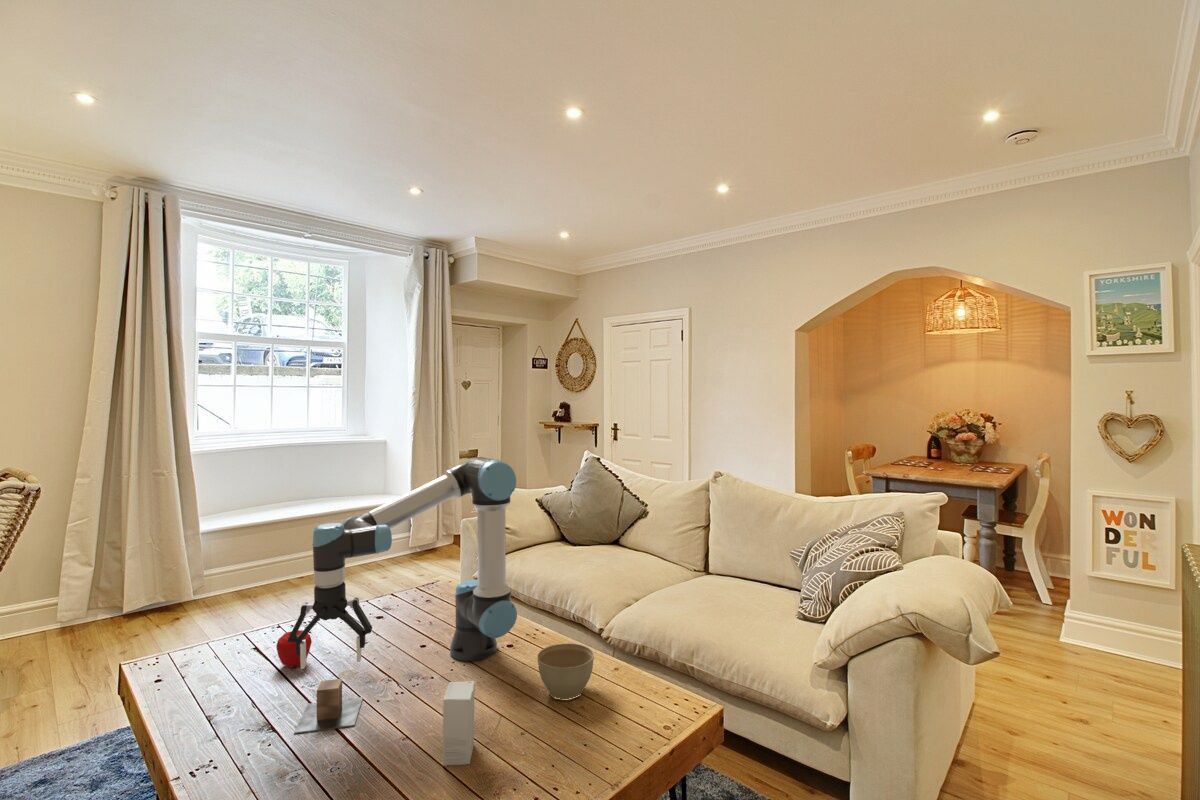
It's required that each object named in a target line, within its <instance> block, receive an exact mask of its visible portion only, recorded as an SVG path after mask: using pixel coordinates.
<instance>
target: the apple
mask: <svg viewBox="0 0 1200 800" xmlns="http://www.w3.org/2000/svg"><path fill="white" fill-rule="evenodd" d="M303 630H304V629H303ZM303 630H301V629H299V630H298V632H297V634H296V636H299V635H300V634H301V633H302V632H303ZM291 632H292V630H291V631H287V632H285V633H283V634H282V636H280V637H279V638H278V639H277V643H276V646H275V647H276V653H277V656H278V658H279V661H280V662H281V664H282V665H283V666H285V667H287V668H297V667H301V661H300V655H298V656H297V655H296V644H295V643H294V642H288V638H289V636H290V634H291ZM303 640H306V660H307V659H308V656H309V653H310V650H311V646H312V636H311V634H309V633H308V634H307V635H306V636H305V637H304V639H303Z"/></svg>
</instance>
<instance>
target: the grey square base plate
mask: <svg viewBox="0 0 1200 800" xmlns="http://www.w3.org/2000/svg"><path fill="white" fill-rule="evenodd" d="M362 702H363V696H361V697H360V696H359V697H353V698H351V697H350V698H344V699H343V698H342V709H341V712H340V715H339V718H334V719H326V720H318V721H317V702H311V703H307V705H306V707H305V708H304V712H302V715H301V718H300V719H299V722H298V723H297V726H296V728H295V730H294V732H293V734H294V735H297V734H298V735H299V734H304V733H313V732H321V731H328V730H336V729H345V728H350V727H351V728H353V727H356V726H355V725H356V722H357V718H358V715H359V712H360V709H361V706H362Z"/></svg>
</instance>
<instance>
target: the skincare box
mask: <svg viewBox="0 0 1200 800" xmlns="http://www.w3.org/2000/svg"><path fill="white" fill-rule="evenodd" d="M475 683H476V682H475V681H474V680H471V681H466V680H465V681H450V682H448V684H447V688H446V690H445V693H444V696H443V703H442V704H443V705H442V767H446V765H450V766H466V764H469V765H470V764H471V759H472V756H473V751H474V750H473V749H474V745H475V739H474V738H475V735H474V734H475V685H476V684H475Z"/></svg>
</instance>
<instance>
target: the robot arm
mask: <svg viewBox="0 0 1200 800" xmlns="http://www.w3.org/2000/svg"><path fill="white" fill-rule="evenodd" d="M516 486H517V476H516V473H515V471H514V468H512V466H511V465H509V463H506V462H504V461H502V460H500V459H493V458H487V457H484V456H483V457H482V456H480V457H474V458H470V459H468V460H465V461H463V462H461V463H459V464H456V465H455V466H454V467H451V468H449V469H447V470H445V471H444V473H443V475H442V476H439V477H438V478H436V479H433V480H431V481H429V482H427V483H425V484H423V485H422V486H420V487H418V488H415V489H414V490H410V491H409V492H407V493H405V494H403V495H401V496H398V497H396V498H395V499H392V500H391V501H389V502H386V503H384V504H382V505H380V506H378V507H376V508H374V509H372V510H370V511H368V512H365V513H363V514H361V515H359V516H350V517H348V518H346V519H345V520H343V522H342V523H340V522H339V523H338V522H333V523H332V522H331V523H324V524H320V525H317V526H315V528H314V529H313V536H312V537H313V538H312V544H311V545H312V557H313V584H314V587H313V597H314V598H313V603H308V602H304V603H303V604H302V606H301V607H300V614H299V616H298V618H297V620H296V622H295V624H294V625H293V628H292V630H291V631H292V632H291V631H290V632H291V634H290V636H289V638H288V642H294V643H295V644H296V655H297V656H298V655H300V661H301V665H300V670H303V669H305V667H307V666H306V665H307V659H306V640H303V639H304V637H305V636H306V635H307V634H309V633H310V631H312V629H313V628H314V627H315V625H316V624H317V623H318V622H319V620H320V619H321V620H323V621H327V620H337V619H338V618H339V619H340V620H341V621H343V622H344V623H346V624H347V626H348V627H350V629H352V631H354V632H355V633H356V634H357V636H356V639H355V641H356V663H361V661H362V655H363V654H362V649H364V648H365V646H366V636H367V635H368V634H369V635H370V634H371V633H372V630H373V626H372V624H371V622H370V620H369V619H368V617H367V616H366V613H365V612H364V610H363V609H362V607H361V605H360V599H359V597H355V598H354V599H350V600H349V599H347V594H346V581H345V580H346V559H351V558H356V557H362V556H368V555H375V554H380V553H384V552H387V551H389V550H390V549H391V547H392V544H393V537H392V531H391V529H394V528H396V527H397V526H400V525H402V524H403V523H405V522H407V521H409V520H411V519H413V518H415V517H418V515H421V514H423V513H425V512H427V511H429V510H431V509H432V508H434V507H437V506H439V505H441V504H442V503H445V502H446V501H448V500H450V499H453V498H457V499H459V498H461V497H463V496H466V495H469V494H471V496H472V497H471V498H472V499H471V500H472V501H471V502H472V506H473V507H475V508H476V510H477V515H476V516H477V518H476V519H477V579H471V580H466V581H462V582H460V583H458V584H457V585H456V586H455V593H454V597H455V601H454V603H455V605H454V606H455V629H454V633H453V636H452V640H451V643H450V646H449V654H450V656H451V657H452V658H453V659H454V660H457V661H461V662H462V661H463V662H475V661H481V660H485V659H487V658H490V657H492V656H493V655H495V654H496V653H497V650H498V641H497V639H498V638H500V637H505V636H506V635H507V634H508V633H510V632H511V629H512V628H513V627H514V626H515V624H516V622H517V619H518V618H517V617H518V610H517V607H516V606H515V604H514V603H513V602H512V597H511V596H512V593H511V592H512V591H511V590H512V589H511V587H510V585H508V584H507V581H506V580H507V578H506V577H507V573H506V570H507V568H506V567H507V566H506V565H507V564H506V562H507V561H506V560H507V559H506V558H507V557H506V556H507V555H506V546H507V545H506V508H507V507H508V506H509V505H510V503H511V495H513V493H514V492H515V489H516ZM347 606H349V607H350V609H352V610H353V612H354V614H355V616H356V617H357V619H358V621H359V622H360V623H359V622H358V621H357V620H356V619H355V618H354V617H352V616H351V614H350V612H349V611H347V610H346V608H347ZM311 610H312V611H313V612H314V613H315V614H316V615H314V617H313V618H312V620H310V622H309V623H307V625H306V626H305V628H304V629H303V632H302V633H301V634H300V635H299V636H296V634H297V632H298V630H300V628H301V626H302V624H303V622H304V620H305V618H306V615H307V614H309V613H310V611H311Z"/></svg>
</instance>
